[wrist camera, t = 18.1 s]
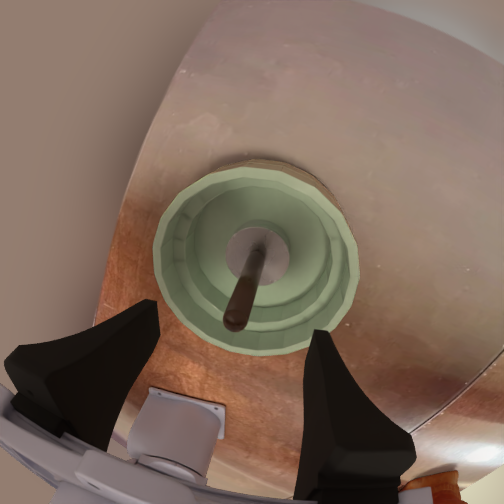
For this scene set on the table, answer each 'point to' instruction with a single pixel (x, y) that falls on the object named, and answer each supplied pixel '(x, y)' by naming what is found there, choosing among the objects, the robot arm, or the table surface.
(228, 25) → the table surface
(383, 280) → the table surface
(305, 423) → the robot arm
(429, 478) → the ceramic vessel
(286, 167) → the bowl
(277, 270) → the peg on round base
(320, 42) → the table surface
